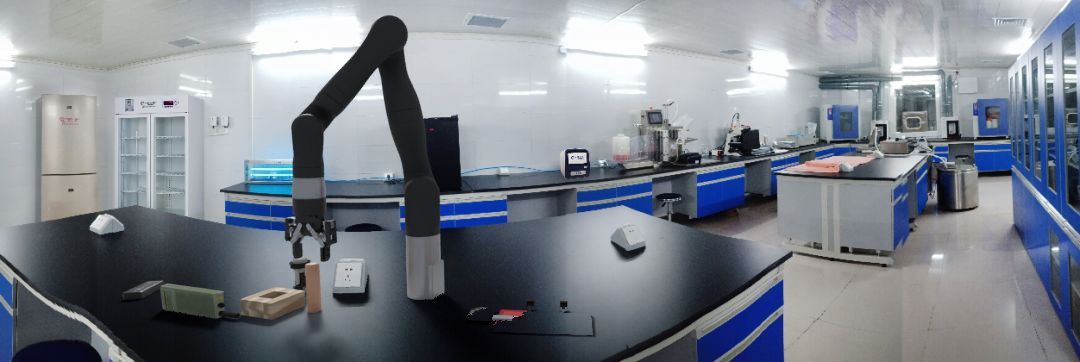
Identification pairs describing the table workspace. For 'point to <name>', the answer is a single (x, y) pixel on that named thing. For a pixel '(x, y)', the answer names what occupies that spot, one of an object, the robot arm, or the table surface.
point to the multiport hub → (142, 290)
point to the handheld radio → (194, 301)
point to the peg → (313, 287)
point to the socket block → (272, 303)
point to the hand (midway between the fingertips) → (311, 259)
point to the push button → (299, 272)
